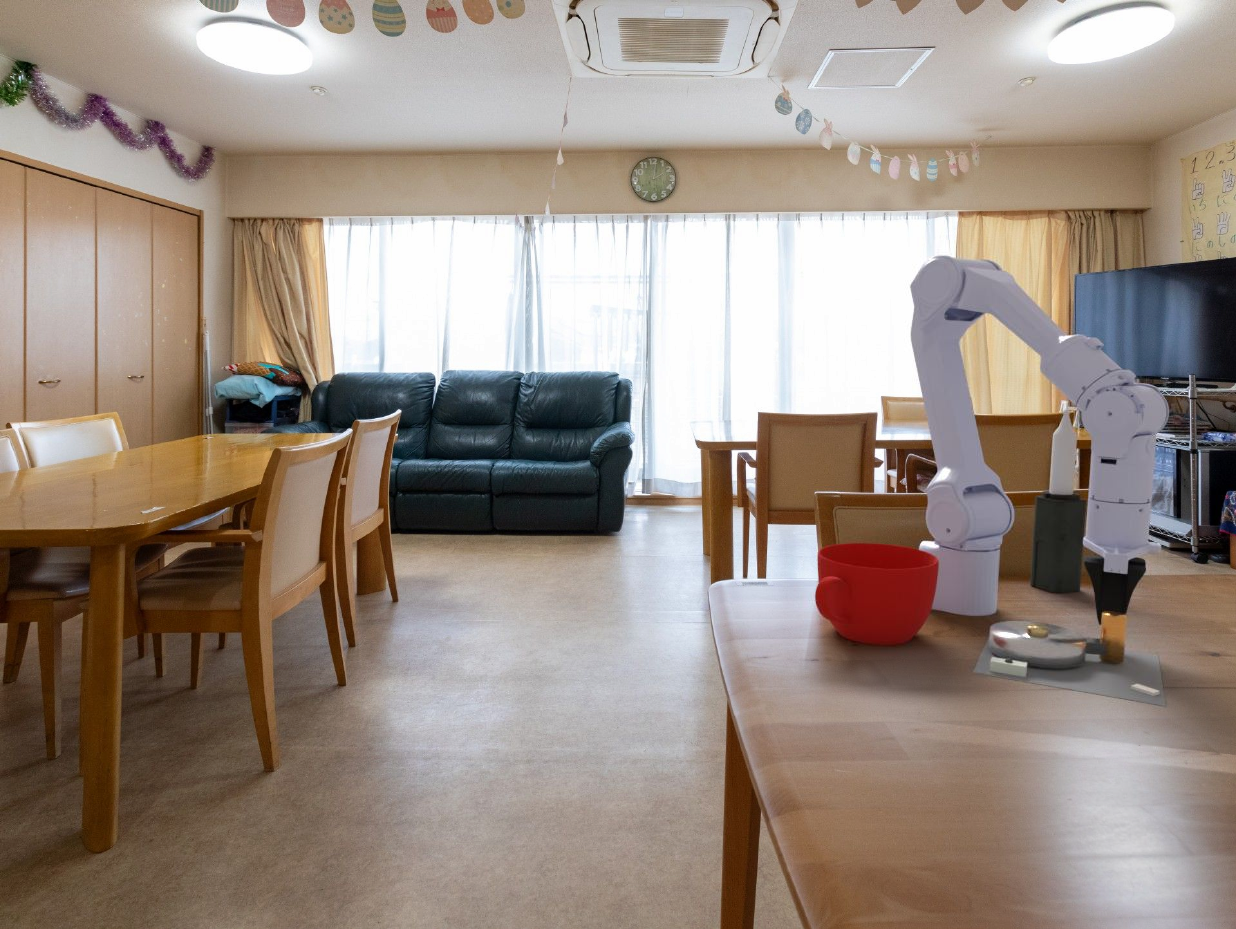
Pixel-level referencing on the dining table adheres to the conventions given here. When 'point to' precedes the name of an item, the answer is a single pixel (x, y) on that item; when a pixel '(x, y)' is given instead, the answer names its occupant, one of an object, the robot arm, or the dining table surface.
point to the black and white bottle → (1059, 520)
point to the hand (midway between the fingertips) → (1109, 624)
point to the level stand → (1086, 675)
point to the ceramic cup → (876, 590)
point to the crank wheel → (1058, 642)
